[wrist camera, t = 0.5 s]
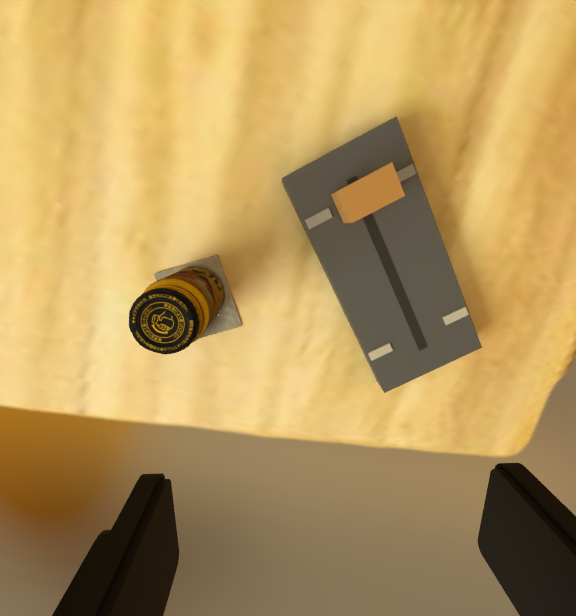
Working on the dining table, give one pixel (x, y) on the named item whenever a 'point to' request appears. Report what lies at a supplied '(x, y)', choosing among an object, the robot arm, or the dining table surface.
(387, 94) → the dining table surface
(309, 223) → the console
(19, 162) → the dining table surface
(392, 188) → the fader tab
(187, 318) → the condiment
